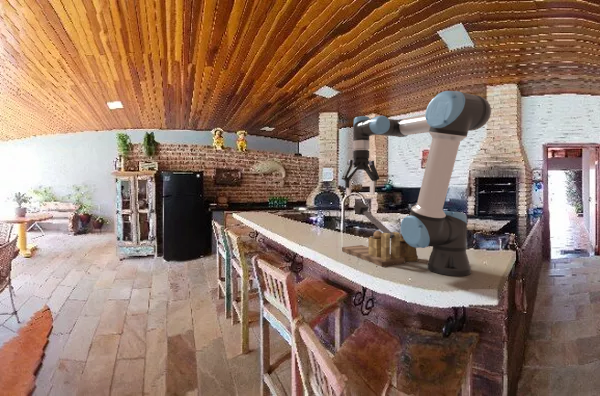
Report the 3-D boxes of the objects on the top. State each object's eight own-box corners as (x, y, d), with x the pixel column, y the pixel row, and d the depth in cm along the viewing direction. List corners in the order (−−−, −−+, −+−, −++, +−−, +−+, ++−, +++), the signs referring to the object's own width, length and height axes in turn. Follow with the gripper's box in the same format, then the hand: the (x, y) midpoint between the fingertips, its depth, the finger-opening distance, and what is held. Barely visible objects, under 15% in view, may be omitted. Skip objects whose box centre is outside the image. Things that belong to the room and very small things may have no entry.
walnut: (384, 240, 132) (384, 231, 132) (377, 240, 130) (377, 231, 130) (378, 238, 136) (378, 229, 135) (371, 239, 134) (371, 230, 134)
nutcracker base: (404, 263, 127) (405, 232, 126) (381, 266, 122) (382, 234, 121) (361, 248, 154) (362, 223, 153) (341, 251, 149) (342, 225, 148)
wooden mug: (427, 258, 135) (427, 218, 135) (411, 263, 127) (411, 220, 126) (409, 254, 142) (409, 216, 141) (392, 259, 134) (393, 218, 133)
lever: (394, 240, 126) (397, 232, 125) (386, 241, 125) (389, 233, 123) (360, 209, 148) (362, 202, 146) (353, 209, 146) (355, 202, 144)
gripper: (377, 151, 151) (376, 193, 152) (334, 149, 141) (334, 194, 142) (387, 150, 144) (386, 194, 146) (343, 148, 134) (342, 195, 135)
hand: (360, 194), depth 144 cm, fingers open, 13 cm apart
